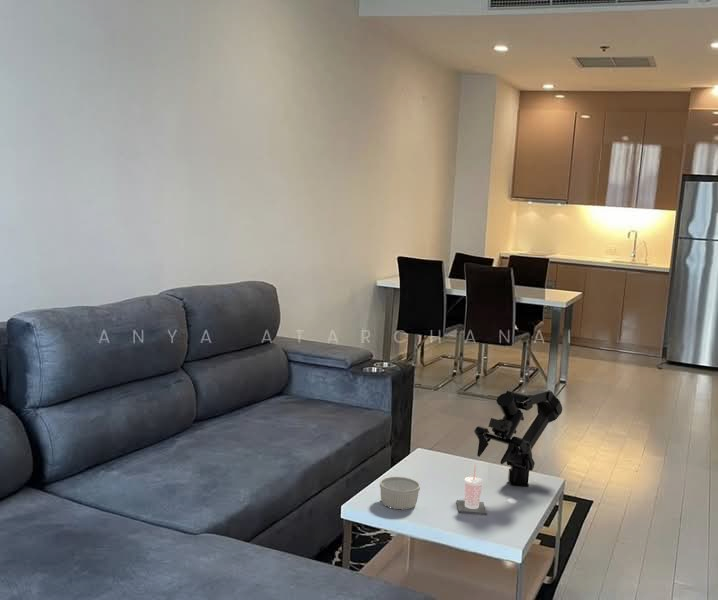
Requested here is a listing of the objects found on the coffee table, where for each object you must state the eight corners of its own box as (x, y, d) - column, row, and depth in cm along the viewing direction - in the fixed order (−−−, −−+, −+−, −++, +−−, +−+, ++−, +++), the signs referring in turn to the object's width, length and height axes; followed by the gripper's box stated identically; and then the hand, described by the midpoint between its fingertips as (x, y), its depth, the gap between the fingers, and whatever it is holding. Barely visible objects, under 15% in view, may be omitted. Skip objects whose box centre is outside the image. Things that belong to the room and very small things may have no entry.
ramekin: (370, 502, 241) (371, 482, 240) (395, 492, 251) (396, 473, 250) (402, 515, 233) (403, 494, 232) (426, 504, 243) (428, 484, 242)
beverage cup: (464, 509, 239) (468, 468, 237) (460, 502, 245) (463, 461, 243) (483, 510, 239) (486, 468, 238) (478, 502, 245) (481, 462, 244)
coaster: (483, 503, 246) (483, 502, 246) (486, 514, 237) (486, 513, 237) (456, 501, 247) (456, 499, 246) (458, 512, 238) (458, 510, 238)
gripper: (479, 403, 258) (458, 439, 251) (526, 416, 245) (505, 454, 239) (489, 421, 265) (469, 457, 258) (535, 434, 252) (516, 472, 245)
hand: (489, 459), depth 250 cm, fingers open, 9 cm apart
